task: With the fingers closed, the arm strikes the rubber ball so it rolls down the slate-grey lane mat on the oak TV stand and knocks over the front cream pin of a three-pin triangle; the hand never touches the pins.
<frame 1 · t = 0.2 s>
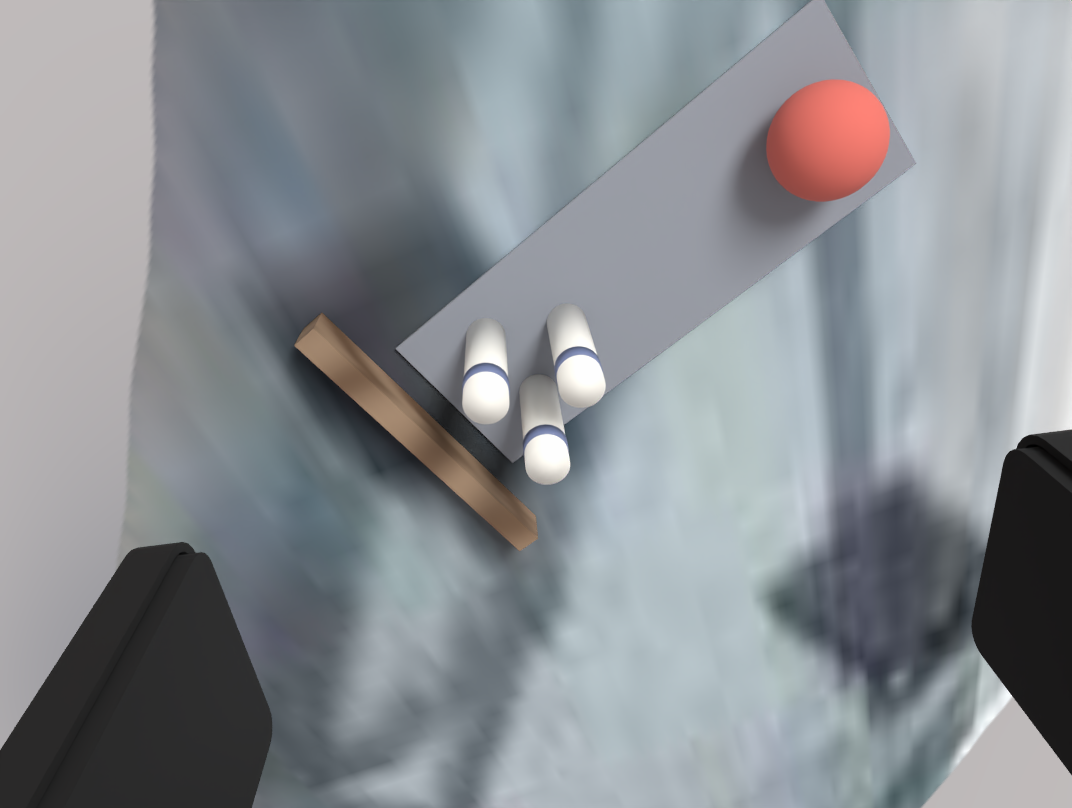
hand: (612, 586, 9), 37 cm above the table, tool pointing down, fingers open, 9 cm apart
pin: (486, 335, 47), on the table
back wall: (428, 429, 50), on the table
ball: (826, 141, 40), on the table
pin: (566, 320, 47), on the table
lane: (645, 258, 46), on the table
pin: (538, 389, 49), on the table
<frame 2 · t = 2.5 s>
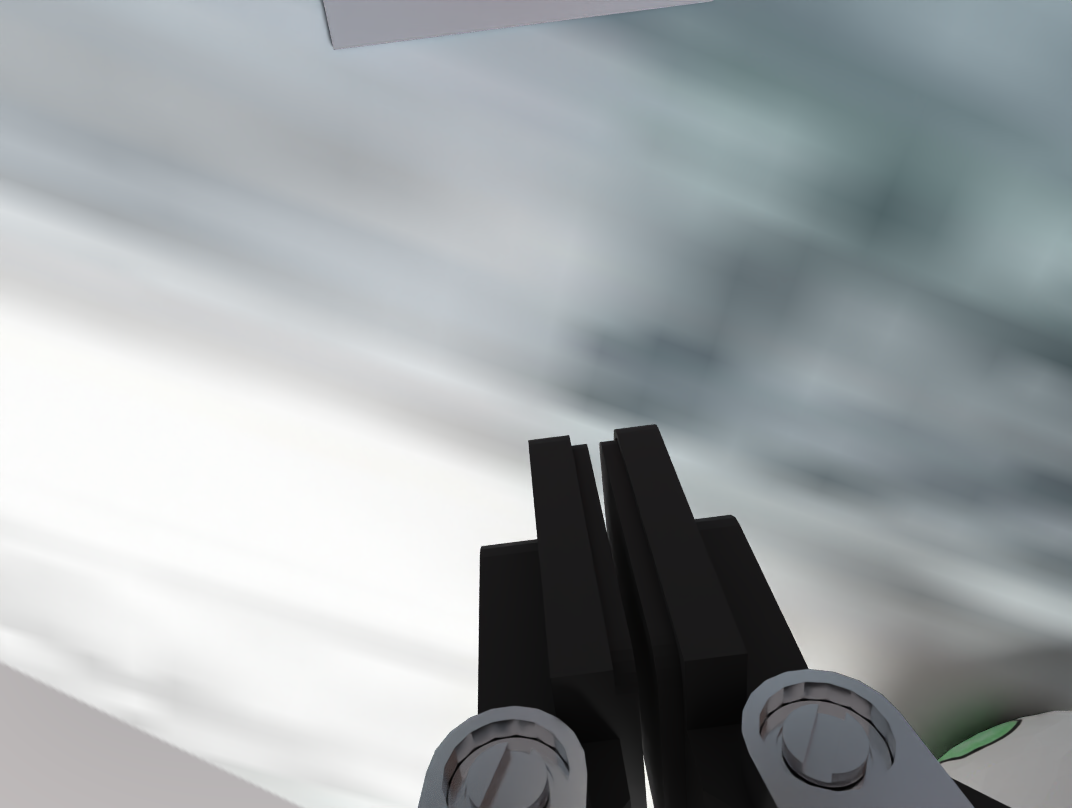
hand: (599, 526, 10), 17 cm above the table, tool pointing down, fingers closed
decorative sculpture: (1006, 732, 38), on the table
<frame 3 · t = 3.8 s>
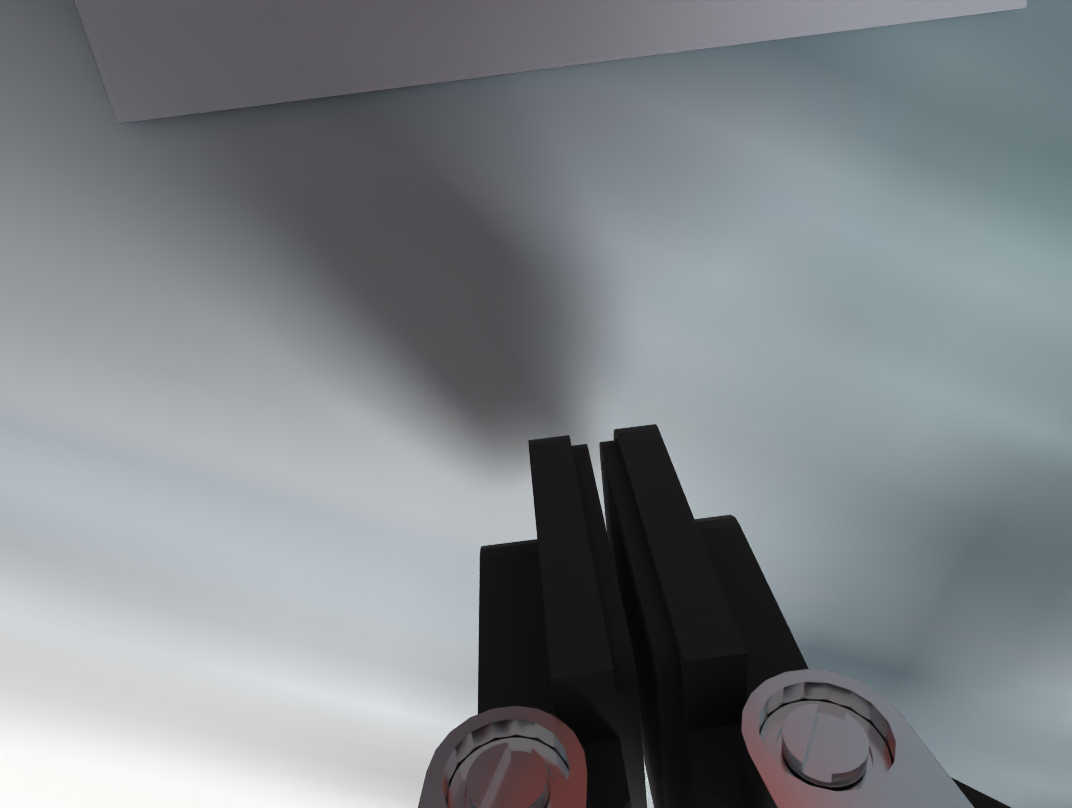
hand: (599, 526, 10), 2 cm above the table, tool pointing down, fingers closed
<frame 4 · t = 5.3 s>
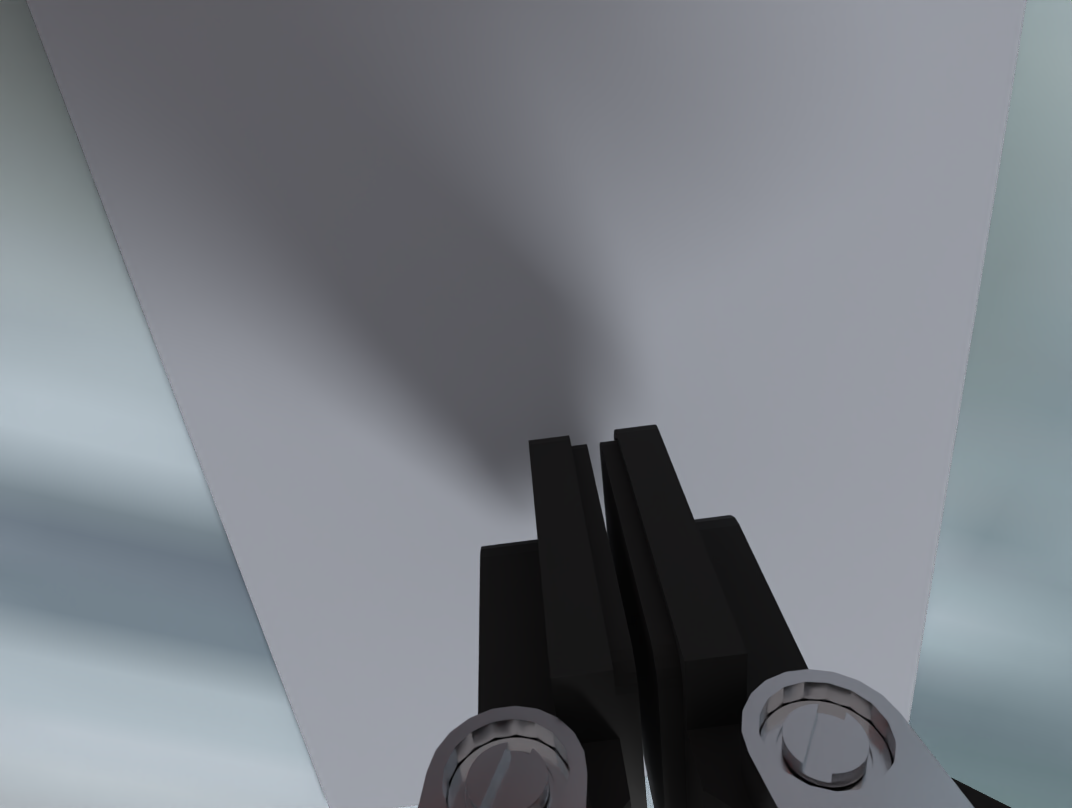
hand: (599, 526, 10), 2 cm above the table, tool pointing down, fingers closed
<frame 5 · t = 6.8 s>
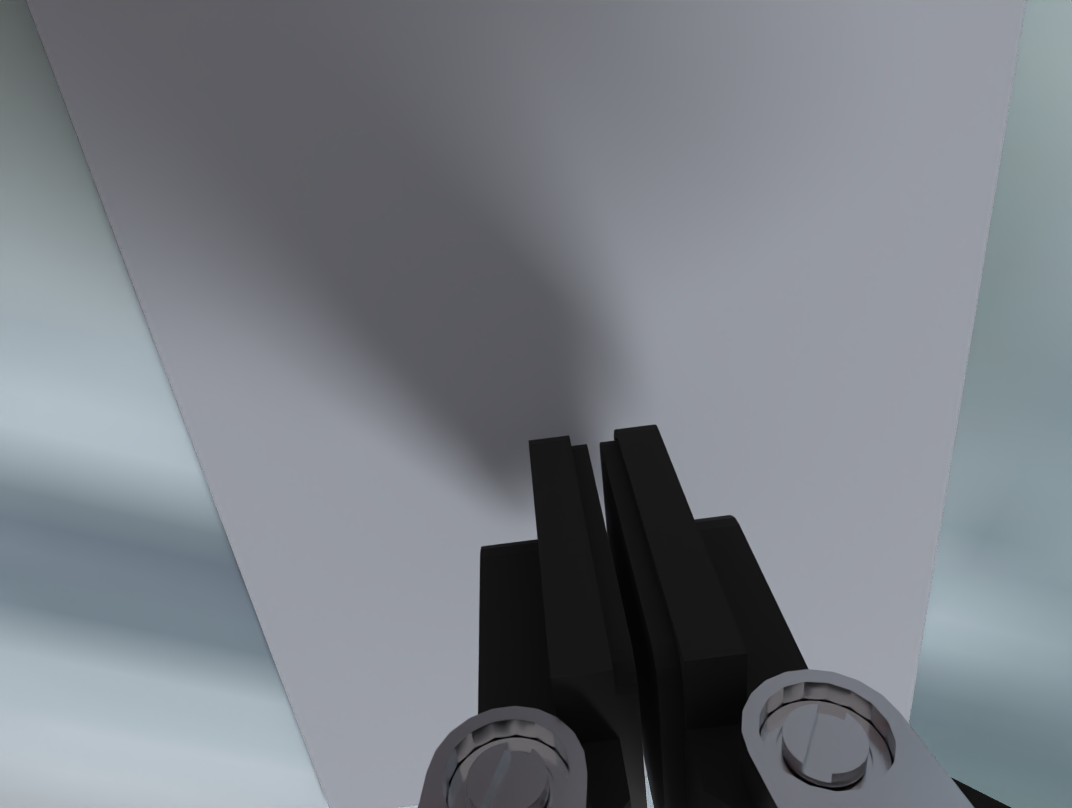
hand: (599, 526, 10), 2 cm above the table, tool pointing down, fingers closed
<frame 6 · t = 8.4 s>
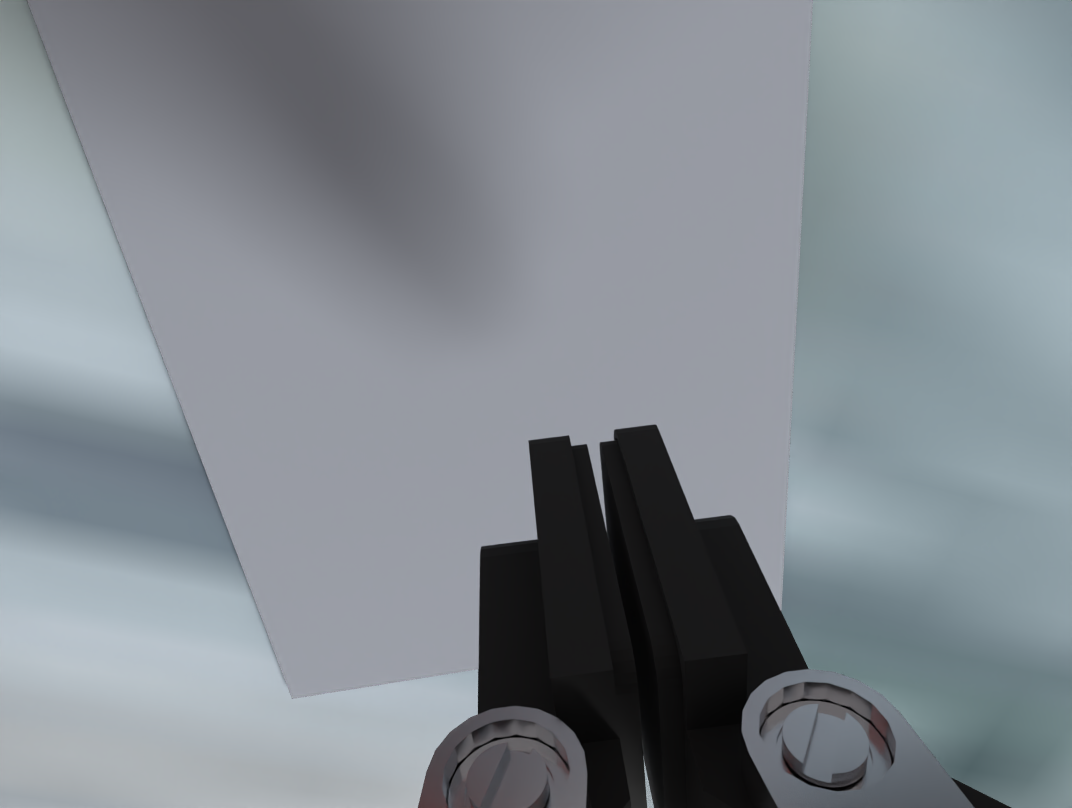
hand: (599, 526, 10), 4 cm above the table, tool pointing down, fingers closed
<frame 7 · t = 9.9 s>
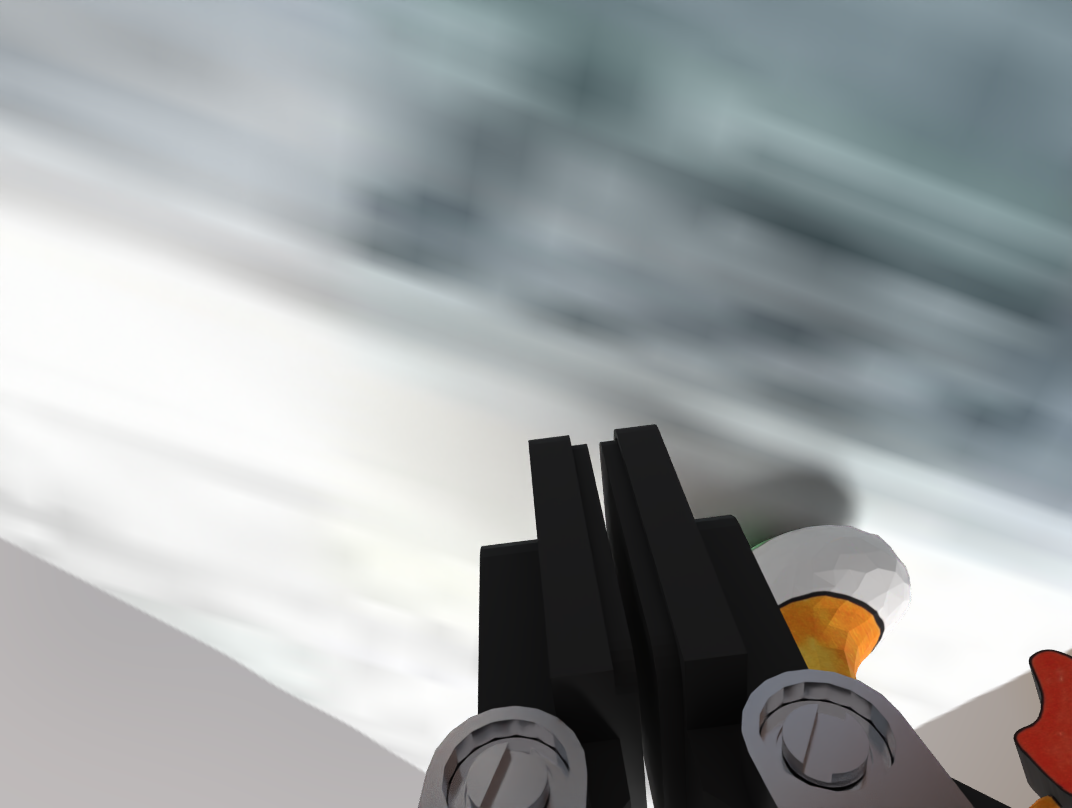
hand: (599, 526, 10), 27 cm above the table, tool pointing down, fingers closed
decorative sculpture: (778, 556, 46), on the table
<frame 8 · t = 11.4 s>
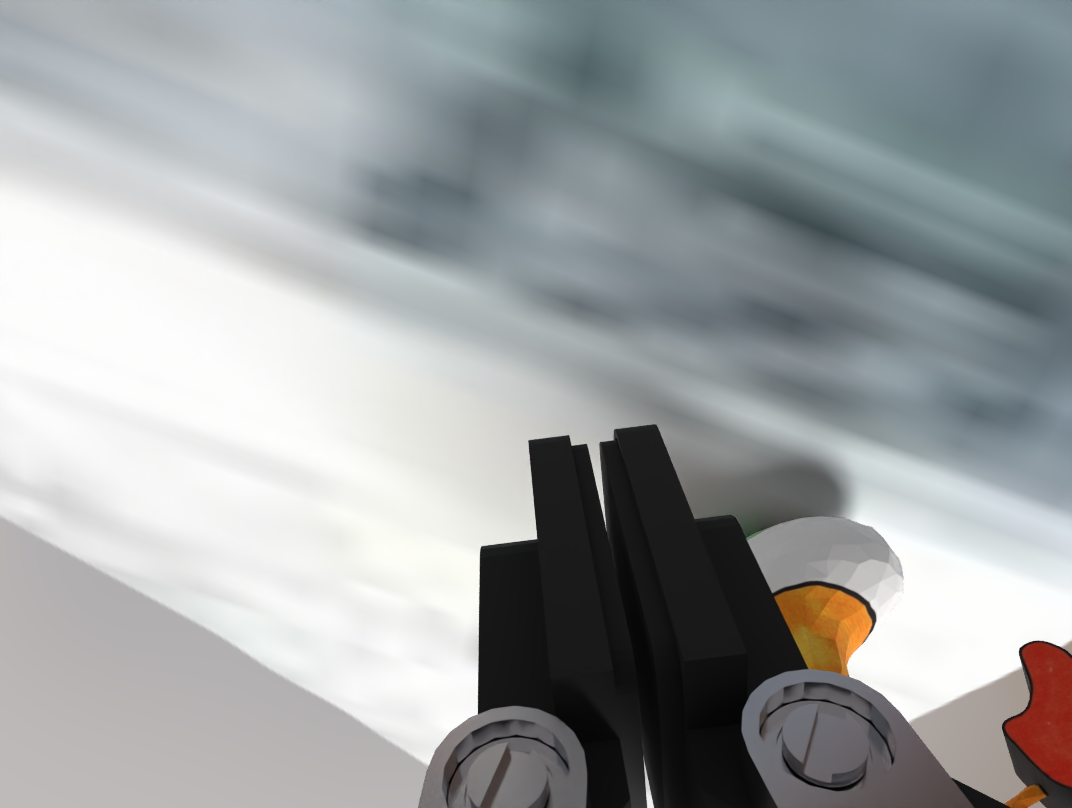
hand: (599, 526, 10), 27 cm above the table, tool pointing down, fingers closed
decorative sculpture: (772, 548, 46), on the table
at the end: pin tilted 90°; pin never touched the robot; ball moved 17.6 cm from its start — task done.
